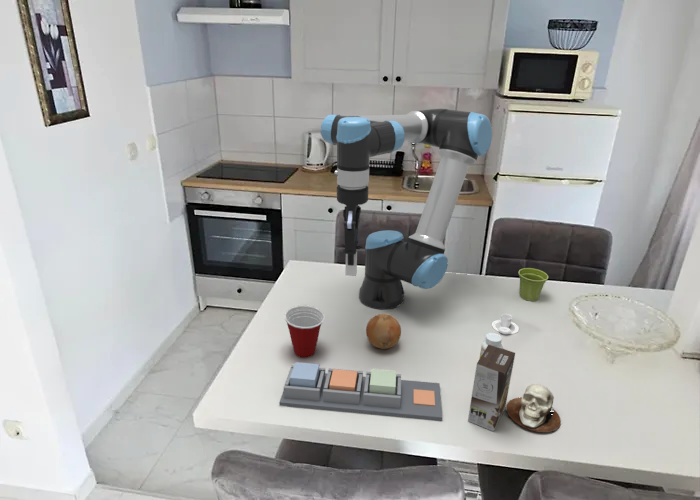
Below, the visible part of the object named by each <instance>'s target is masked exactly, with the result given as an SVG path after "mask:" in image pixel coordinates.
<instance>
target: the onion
mask: <svg viewBox="0 0 700 500" xmlns="http://www.w3.org/2000/svg"><path fill="white" fill-rule="evenodd" d="M365 329H366V330H365V332H366V337H367V340H368V341H369V343H370V344H371V345H372V346H374V347H375V348H378V349H382V350H387V349H391V348H392V347H394V346H396V345H397V344H398V342H399V340H400V339H401V334H402V328H401V325H400V323H399V321H398V319H397V318H395V317H394V316H393V315H391V314H389V313H378V314H375V315H374V316H372V317H371V318H370V319H369V321H368V322H367V324H366V328H365Z"/></svg>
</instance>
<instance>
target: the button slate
mask: <svg viewBox="0 0 700 500" xmlns="http://www.w3.org/2000/svg"><path fill="white" fill-rule="evenodd" d="M319 368H320V363H309V362H298V361H296V362H294V367H293V370H292V373H291V376H290V386H296V387H307V388H316V384H317V381H318V377H319Z"/></svg>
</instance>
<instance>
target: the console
mask: <svg viewBox="0 0 700 500" xmlns="http://www.w3.org/2000/svg"><path fill="white" fill-rule="evenodd" d="M294 365H295V364H294ZM294 365H291V366H290V368H289V370H288V373H287V377H286V380H285V383H284V385H283V391H282V393H281V396H280V400H279V402H278V403H279V406H281V407H291V408H292V407H293V408H301V409H302V408H303V409H312V410H321V411H322V410H323V411H332V412H333V411H334V412H343V413H355V414H364V415H365V414H366V415H375V416H376V415H377V416H388V417H396V418H397V417H399V418H408V419H418V420H419V419H420V420H429V421H440V422H442V421H443V411H442V410H443V409H442V400H441V398H442V397H441V396H442V395H441V385H440V382H430V381H429V382H428V381H419V380H406V379H402V374H398V373H396V388H395V395H385V394H374V393H369V391H370V379H371V371H366V373H365V376H364V371H362V370H356V371H357V385H356V391H355V392H352V391H341V390H330V389H329V385H330V381H331V376H332V372H333V369H334V368H328V370H327V372H326V367H319V377H318V381H317V384H316V388H307V387H296V386H290V376H291V373H292V370H293V367H294ZM335 369H336V370H344V368H342V369H341V368H340V369H339V368H335ZM347 370H348V371H355V370H354V369H353V370H352V369H347Z"/></svg>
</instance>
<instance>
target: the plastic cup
mask: <svg viewBox="0 0 700 500" xmlns="http://www.w3.org/2000/svg"><path fill="white" fill-rule="evenodd" d="M283 315H284V320H285V322H286V325H287V328H288V332H289V338H290V340H291V345H292V348H293V351H294V352H293V353H294V355H296V357H299V358H302V359H303V358H311V357H312V356H314V355H315V353H316V350H317V344H318V340H319V336H320V331H321V326H322V324H323V323H324V321H325V318H326V316H325V314H324V312H323V311H322V310H321V309H320V308H318V307H315V306H312V305H308V304H304V305H301V304H300V305H296V306H292V307H290V308H288V309H287V310H286V311H285V313H284V314H283Z"/></svg>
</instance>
